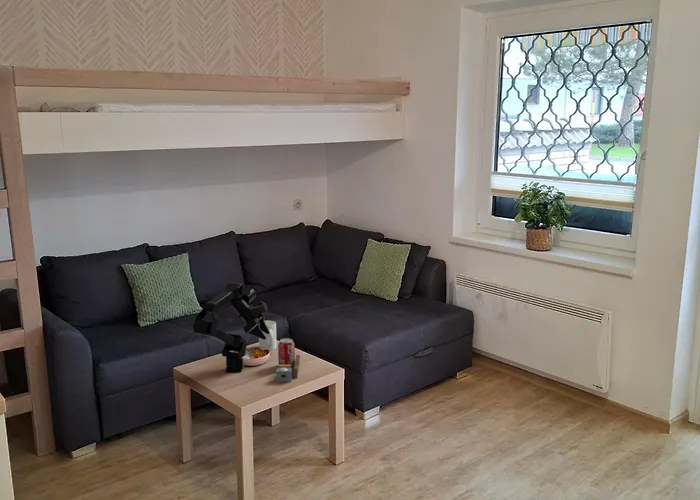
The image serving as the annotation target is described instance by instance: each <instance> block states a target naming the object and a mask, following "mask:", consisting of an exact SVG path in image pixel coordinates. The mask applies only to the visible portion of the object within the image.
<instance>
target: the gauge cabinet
mask: <svg viewBox="0 0 700 500" xmlns="http://www.w3.org/2000/svg"><path fill="white" fill-rule="evenodd" d="M292 368H293V367H292ZM292 368H279V367H277V368H276V371H275V381H276V383H291V382H292V377H293V376H292V375H293V374H292V373H293V372H292V370H293V369H292ZM283 373H286V374H283Z"/></svg>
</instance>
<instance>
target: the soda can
mask: <svg viewBox="0 0 700 500" xmlns="http://www.w3.org/2000/svg"><path fill="white" fill-rule="evenodd" d="M295 347H296V346H295V342H294V340H293V339H292V338H289V337H283V338H281V339H280V340H279V342H278V346H277V351H278V352H277V353H278V355H277V359H278V361H277V362H278V366H279V365H291V368H294V364H295V359H296V354H295V353H296V352H295Z"/></svg>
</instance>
